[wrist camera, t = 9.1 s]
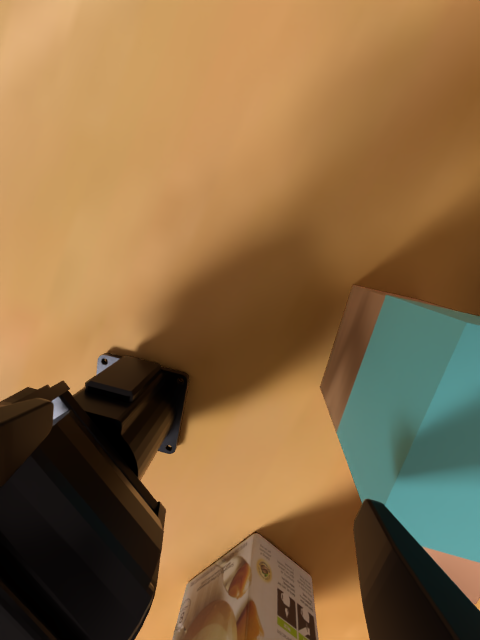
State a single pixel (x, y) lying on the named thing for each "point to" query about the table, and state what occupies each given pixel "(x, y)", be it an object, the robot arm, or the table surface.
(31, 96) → the table surface
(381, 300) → the walnut brick
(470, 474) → the teal brick
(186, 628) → the coffee box
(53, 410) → the robot arm
